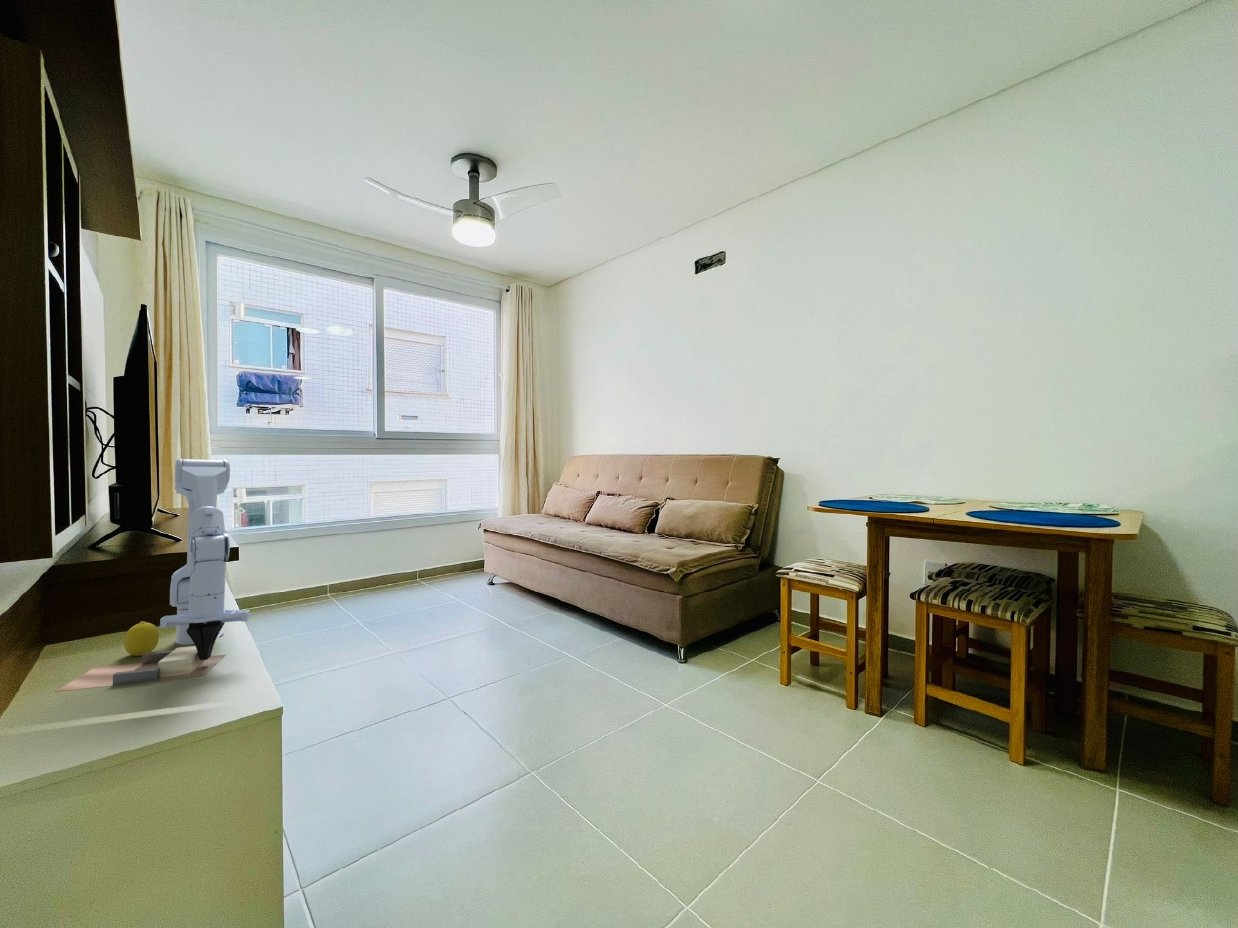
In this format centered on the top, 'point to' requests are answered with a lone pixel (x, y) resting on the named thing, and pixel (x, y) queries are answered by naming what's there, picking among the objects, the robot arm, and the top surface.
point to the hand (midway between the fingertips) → (205, 658)
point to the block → (179, 662)
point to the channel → (141, 675)
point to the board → (105, 673)
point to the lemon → (141, 639)
